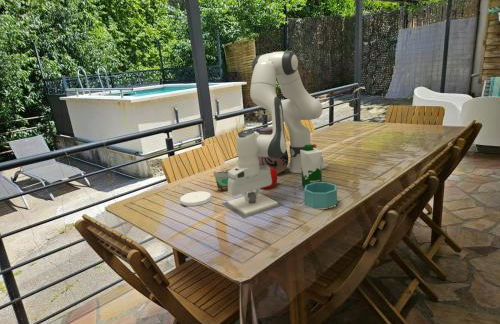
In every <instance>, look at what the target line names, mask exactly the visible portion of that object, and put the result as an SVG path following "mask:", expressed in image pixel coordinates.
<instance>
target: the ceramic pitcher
mask: <svg viewBox="0 0 500 324" xmlns="http://www.w3.org/2000/svg"><path fill="white" fill-rule="evenodd" d="M251 130H254V131H255V133H257V134H261V135H271V134H272V133H273V128H272V125H270V126H263V127H259V128H258V127H257V128H252V129H251ZM287 150H288V149H287V148H286V152H285V153H284V155H283V156H281V157H280V158H278V159H275V158H270V157H259V156H258V159H259V166H263V165H268V166H269V167H270V168H274V169H275V170H276V172H277V175H278V174H280V173H282V172H284V171H285V170H286V168H287V167H288V166H289V165H288V164H289V154H288V153H289V152H288V151H287ZM268 166H267V167H268Z"/></svg>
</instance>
